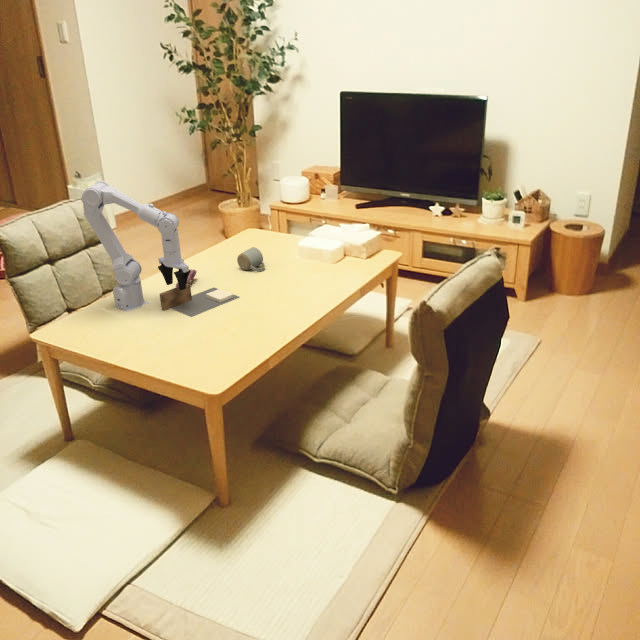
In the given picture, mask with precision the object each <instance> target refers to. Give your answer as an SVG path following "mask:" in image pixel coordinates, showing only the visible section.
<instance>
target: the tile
mask: <svg viewBox="0 0 640 640" xmlns="http://www.w3.org/2000/svg"><path fill="white" fill-rule="evenodd" d="M217 289H218V290H215V291H213V292H210V293H207V294H206V297H207V298H210V299H212V300H215V301H217V302H220V303H221V302H223V301H226V300H228V299H231V298H233V295H234V294H233V293H230V292H228V291H225V290H222V289H220V288H217Z"/></svg>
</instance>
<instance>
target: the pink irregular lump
mask: <svg viewBox="0 0 640 640" xmlns="http://www.w3.org/2000/svg"><path fill="white" fill-rule="evenodd" d="M197 272H198V271H197V270H196V269H192V268H190V274H189V276H188V279H187V283H188V284H190V283H192V282H193V280H194V278H195V277H196V276H197ZM176 287H179V285H178V282H177V283H176V284H175V288H176Z"/></svg>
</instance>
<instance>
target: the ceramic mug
mask: <svg viewBox="0 0 640 640" xmlns="http://www.w3.org/2000/svg"><path fill="white" fill-rule="evenodd" d="M236 261H237V264H238V266H239V268H240V269H242V270H244V271H249V270H253V271H255V272H257V273H259V271H260V272H262V270H263V271H264V270H265V269H266V265H265V263H264V256H263V253H262V251H260V249H258V248H257V247H250V248H248V249H246V250H244V251H241V253H239V254H238V256H237V260H236ZM259 266H261V267H262V268H257V267H259Z"/></svg>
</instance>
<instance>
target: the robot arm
mask: <svg viewBox="0 0 640 640" xmlns="http://www.w3.org/2000/svg"><path fill="white" fill-rule="evenodd" d="M82 192H83V193H82V195H81V196H80V197H81V198H80V200H81V202H82V205H83V206H82V207H83V215H84V217H85V219H86V220H87V222H88V224H89V225H90V227H91V229H92V230H93V232H94V233H95V235H96V237H97V238H98V240H99V241H100V243H101V244H102V246H103V248H104V250H105V251H106V254H108V256H109V258H110V259H111V261H112V270H113V272H114V277H115V279H116V281H117V282H118V284H117V285H115V286H114V287H113V289H112V293H113V294H112V295H113V299H114V307H115V308H118V309H119V310H122V311H124V312H129V311H132V310H135V309H138V308H141V307H143V306H146V305H148V304H150V302H148V301H146V300H144V295H143V293H144V292H143V288H142V287H143V286H142V281H141V278H140V274H141V273H142V270H143V269H142V265H141V263H140V262H138V261H137V260H136V259H135V258H134V257H133V256H132V254H129V253H127V251H126V250H125V249H124V247H123V245H122V243H121V242H120V240H119V239H118V237H117V235H116V234H115V232H114V230H113V228H112V227H111V226H110V223H109V222H108V221H107V219H106V217H105V216H104V213H103V210H104V208H105V206H106V205H110V204H115V205H118V206H120V207H122V208H124V209H126V210H129V211H131V212H133V213H135V214H136V215H137V217H138V218H139V219H140V220H141V221H144V222H146V223H147V224H149V225H151V226H153V227H155V228H157V230H158V232H159V234H161V245H162V252H163V256H161V257H159V258H158V264H160V265H158V266H157V269H158V270H159V272H160V273H161V274H162V277H163V279H164V281H165V283H166V285H167V286H169V285H173V282H174V276H175V278H176V280H177V283H178V285H179V289H180V290H184V289H186V284H187V279H188V276H189V274H190V270H191V268H190V269H189V265H188V264H186V263H185V259H184V258H182V253H181V252H182V251H181V243H180V236H179V228H178V227H179V225H180V219H179V218H178V216H177V215H176V214H175V213H174V212H167V211H165V210H161V209H159V208H157V207H155V206H154V204H153V203H148V202H146V203H143V204H142V203H140V202H138V201H137V200H136V199H133V198H131V197H130V196H128V195H126V194H125V193H124V192H122V191H120V190H118V189H117V188H116V187H114V185H111V184H108V183H107V182H105V181H96V182H95V183H94V184H92V185H91V186H89V187H87V188H85V189H84V191H82ZM174 269H176V271H174ZM173 275H174V276H173Z"/></svg>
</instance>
